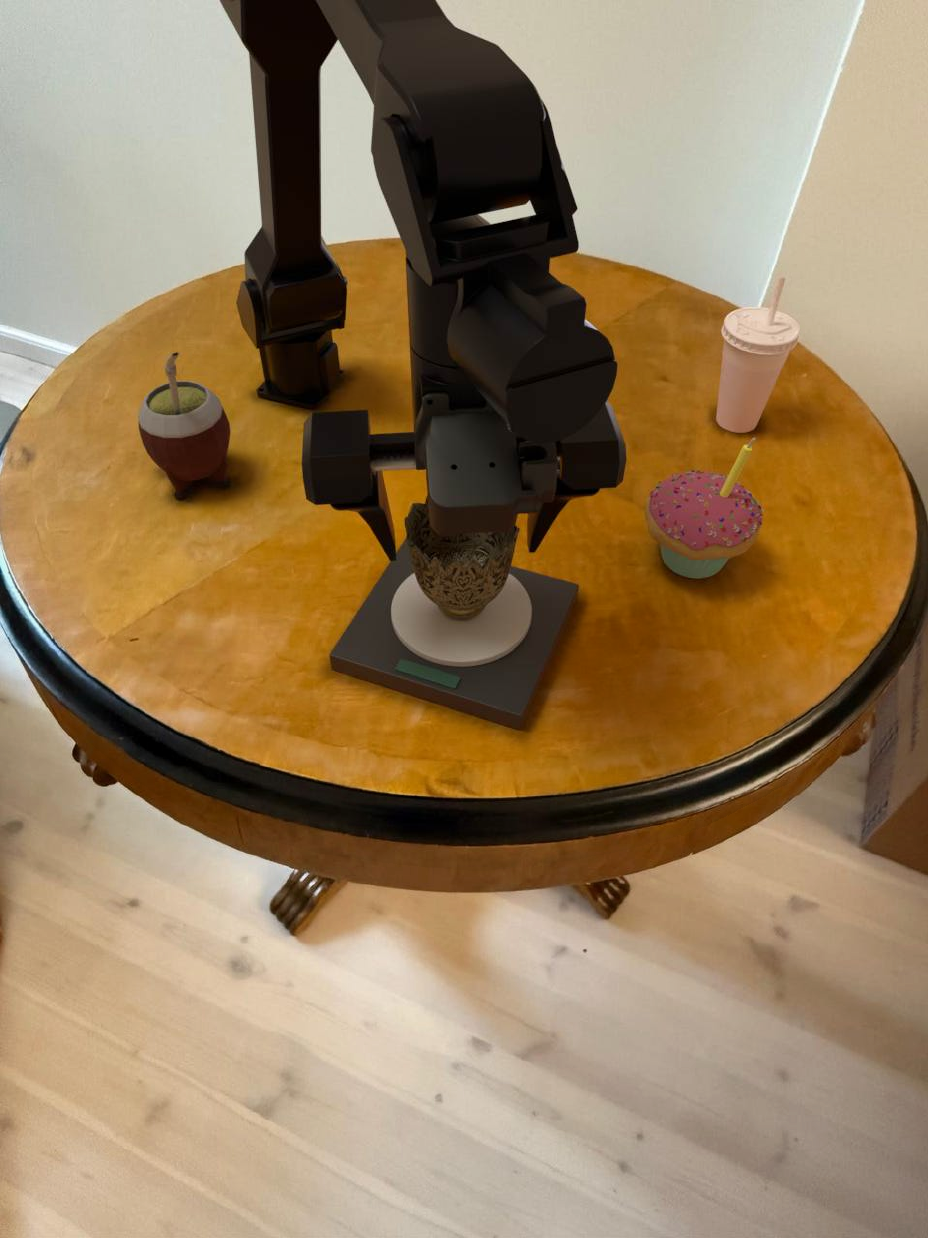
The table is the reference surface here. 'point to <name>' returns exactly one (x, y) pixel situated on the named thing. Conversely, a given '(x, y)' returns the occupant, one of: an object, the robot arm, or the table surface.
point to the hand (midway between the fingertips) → (462, 552)
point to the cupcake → (703, 519)
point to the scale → (458, 642)
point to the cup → (458, 564)
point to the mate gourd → (186, 433)
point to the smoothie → (752, 361)
